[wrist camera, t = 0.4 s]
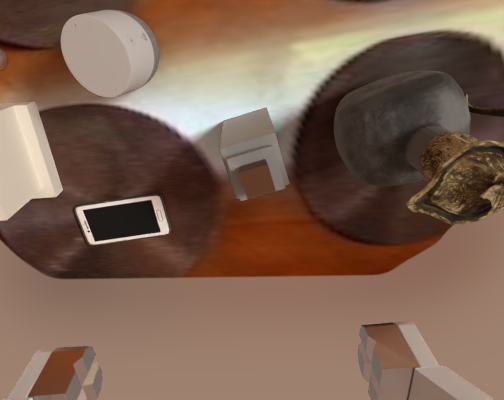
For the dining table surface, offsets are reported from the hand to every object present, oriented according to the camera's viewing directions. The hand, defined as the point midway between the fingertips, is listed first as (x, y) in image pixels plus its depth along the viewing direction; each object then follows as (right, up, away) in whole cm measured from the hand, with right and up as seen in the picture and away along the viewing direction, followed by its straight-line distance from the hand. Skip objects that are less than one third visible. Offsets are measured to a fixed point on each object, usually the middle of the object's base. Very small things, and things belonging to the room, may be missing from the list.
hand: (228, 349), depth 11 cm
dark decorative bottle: (+20, +19, +43) cm, 51 cm away
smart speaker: (-16, +25, +39) cm, 49 cm away
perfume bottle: (+1, +15, +44) cm, 47 cm away
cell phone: (-21, +2, +50) cm, 54 cm away
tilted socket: (-35, +12, +44) cm, 58 cm away
